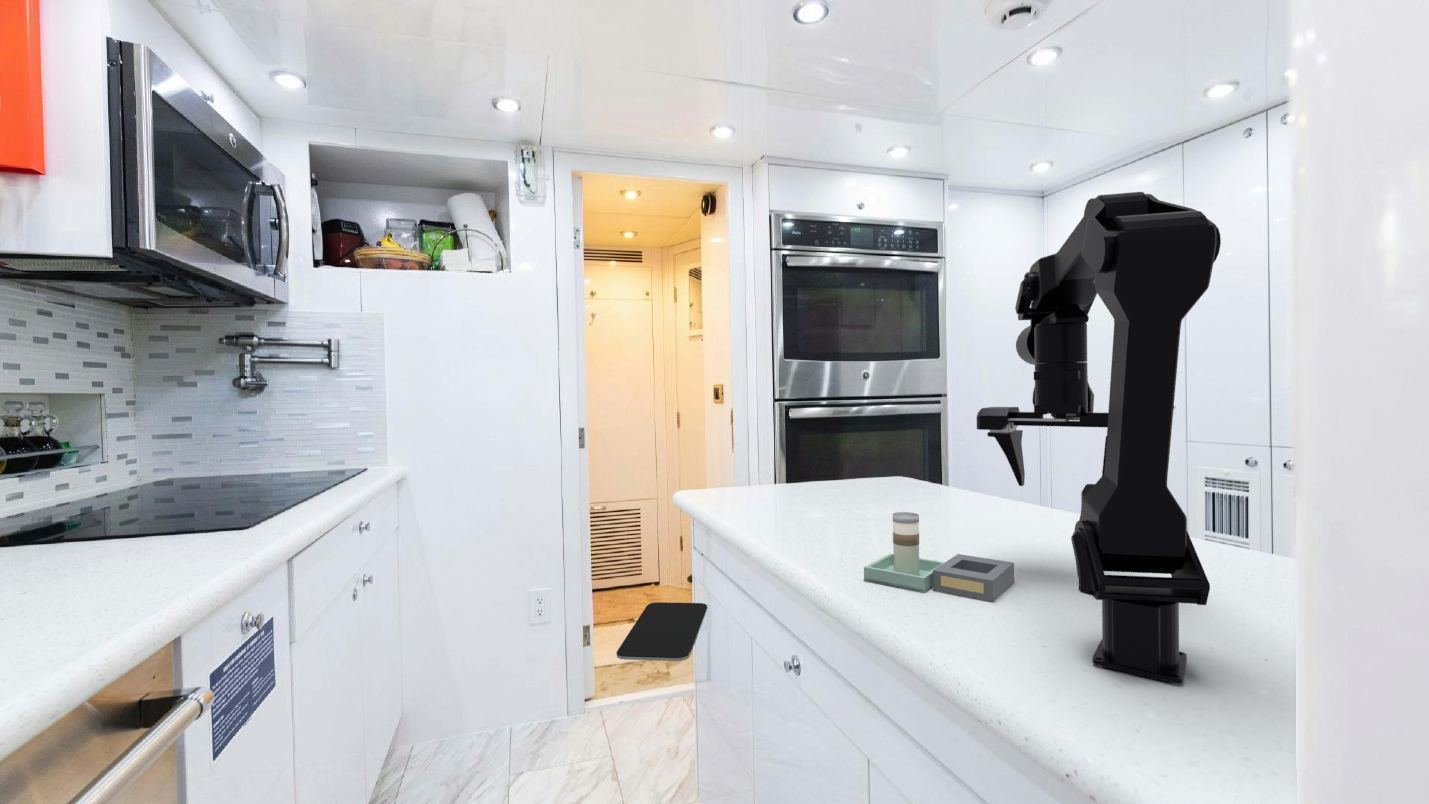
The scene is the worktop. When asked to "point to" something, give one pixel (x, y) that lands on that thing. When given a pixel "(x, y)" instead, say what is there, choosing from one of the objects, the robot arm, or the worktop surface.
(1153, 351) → the robot arm
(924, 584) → the parts tray
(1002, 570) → the fuse holder
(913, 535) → the fuse
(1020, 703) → the worktop surface
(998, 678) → the worktop surface
